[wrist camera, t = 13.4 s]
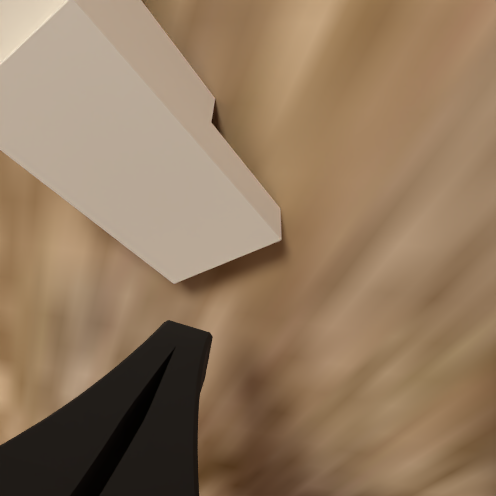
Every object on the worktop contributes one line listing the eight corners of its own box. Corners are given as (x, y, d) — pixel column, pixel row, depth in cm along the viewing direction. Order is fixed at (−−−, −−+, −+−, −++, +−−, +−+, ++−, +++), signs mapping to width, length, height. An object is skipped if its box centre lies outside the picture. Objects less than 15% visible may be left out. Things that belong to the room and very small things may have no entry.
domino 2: (281, 240, 14) (72, -3, 9) (173, 283, 16) (-49, 112, 11) (280, 208, 15) (93, -25, 10) (179, 254, 17) (-22, 83, 12)
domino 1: (210, 124, 13) (-98, -260, 7) (102, 189, 15) (-200, -68, 9) (215, 98, 14) (-50, -254, 8) (113, 162, 16) (-153, -83, 10)
